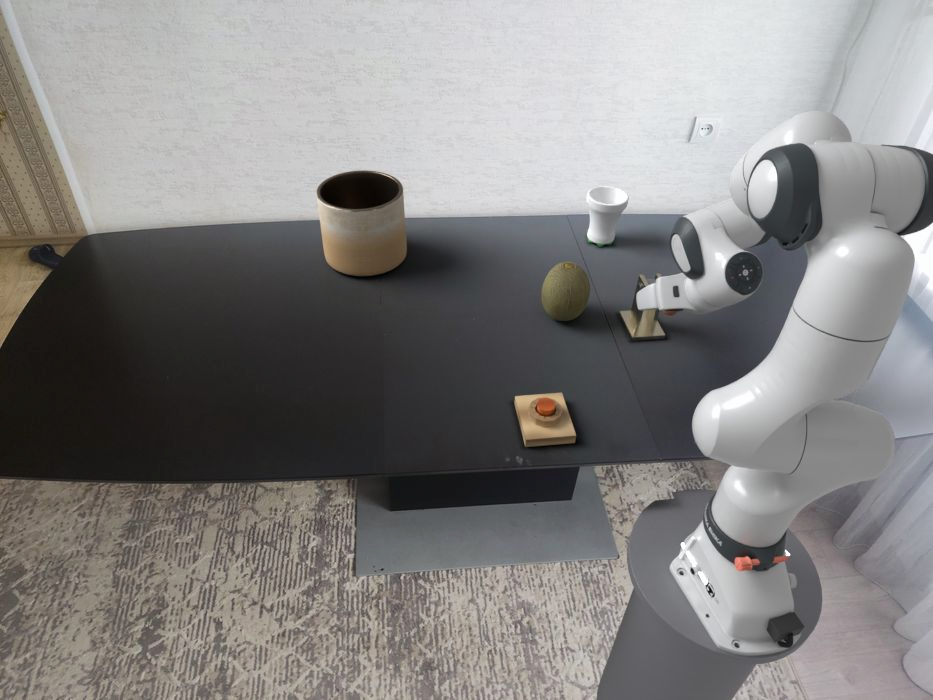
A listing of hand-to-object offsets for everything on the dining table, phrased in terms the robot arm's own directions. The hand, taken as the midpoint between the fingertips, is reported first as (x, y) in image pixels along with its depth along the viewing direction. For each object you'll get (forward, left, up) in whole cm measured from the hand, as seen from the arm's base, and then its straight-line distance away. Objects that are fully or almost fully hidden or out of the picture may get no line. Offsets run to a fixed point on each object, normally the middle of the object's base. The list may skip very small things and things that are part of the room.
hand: (673, 303), depth 139 cm
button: (-16, +30, -12) cm, 36 cm away
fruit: (+18, +18, -16) cm, 30 cm away
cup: (+51, -1, -16) cm, 53 cm away
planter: (+49, +65, -16) cm, 83 cm away
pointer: (+6, 0, -4) cm, 7 cm away
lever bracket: (+12, 0, -16) cm, 20 cm away
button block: (-16, +30, -16) cm, 38 cm away
